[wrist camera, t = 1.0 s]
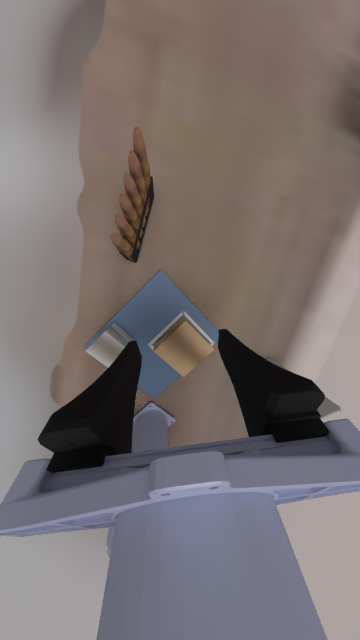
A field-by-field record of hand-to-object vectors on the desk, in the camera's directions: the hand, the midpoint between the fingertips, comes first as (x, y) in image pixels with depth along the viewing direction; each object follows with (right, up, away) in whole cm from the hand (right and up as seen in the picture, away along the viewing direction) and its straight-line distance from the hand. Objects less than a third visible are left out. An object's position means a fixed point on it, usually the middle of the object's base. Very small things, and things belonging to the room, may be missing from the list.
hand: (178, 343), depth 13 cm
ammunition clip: (-7, +17, +12) cm, 22 cm away
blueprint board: (-4, -2, +17) cm, 18 cm away
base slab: (+1, -3, +17) cm, 18 cm away
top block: (-12, -1, +15) cm, 19 cm away
